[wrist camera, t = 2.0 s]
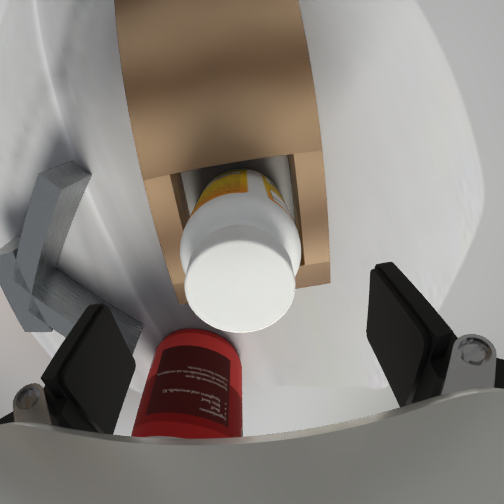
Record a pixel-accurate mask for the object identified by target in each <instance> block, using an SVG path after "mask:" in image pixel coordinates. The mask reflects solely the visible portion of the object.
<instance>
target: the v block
mask: <svg viewBox="0 0 504 504" xmlns="http://www.w3.org/2000/svg"><path fill="white" fill-rule="evenodd" d="M91 176H92V174H90V173H89V172H87V171H86V170H84V169H83V168H81V167H80V166H78V165H77V164H75V163H74V162H72V161H70V162H67V163H64V164H62V165H59V166H56V167H54V168H51V169H49V170H46V171H44V172H41V173H39V175H38V178H37V181H36V184H35V187H34V190H33V193H32V196H31V200H30V203H29V206H28V210H27V214H26V217H25V221H24V225H23V229H22V234H21V236H19V237H16V238H14V239H13V240H12V241H10V242H9V243H8V244H6V245H5V246H4V247H2V248H1V249H0V286H1V288H2V290H3V292H4V294H5V296H6V298H7V300H8V302H9V304H10V306H11V308H12V310H13V311H14V313H15V315H16V317H17V319H18V320H19V322H20V324H21V326H22V327H23V329H24V331H25V332H52V330H53V329H54V330H55V331H57V332H58V333H60V334H61V335H63V336H64V337H67V336H68V334H69V333H70V331H71V330H72V328H73V327H74V325H75V324H76V322H77V321H78V319H79V318H80V317H81V315H82V314H83V312H84V311H85V309H86V308H87V307H88V306H89V305H90V304H100V303H103V304H105V305H106V307H109V308H110V310H111V312H112V314H113V316H114V319H115V321H116V323H117V325H118V327H119V329H120V332H121V334H122V336H123V338H124V340H125V342H126V344H127V346H128V348H129V350H130V352H131V354H132V355H133V352H134V349H135V347H136V344H137V342H138V339H139V336H140V334H141V331H142V329H143V326H144V325H143V324H141V323H139V322H138V321H136V320H134V319H132V318H131V317H129V316H127V315H126V314H124V313H122V312H121V311H119V310H118V309H116V308H114V307H113V306H111V305H109V304H108V303H106V302H105V301H103V300H102V299H100V298H98V297H97V296H95V295H94V294H92V293H91V292H89V291H88V290H86V289H85V288H83V287H82V286H80V285H79V284H77V283H76V282H74V281H73V280H72V279H70V278H69V277H67V276H66V275H64V274H63V273H62V272H60V271H59V270H57V269H56V266H57V263H58V260H59V257H60V254H61V251H62V248H63V245H64V242H65V239H66V236H67V233H68V231H69V228H70V225H71V223H72V220H73V218H74V215H75V212H76V210H77V208H78V205H79V203H80V200H81V198H82V196H83V193H84V191H85V189H86V186H87V184H88V182H89V180H90V178H91Z"/></svg>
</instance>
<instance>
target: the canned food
mask: <svg viewBox="0 0 504 504" xmlns="http://www.w3.org/2000/svg"><path fill="white" fill-rule="evenodd" d="M131 437H144V438H165V439H213V438H234V437H243V429H242V366H241V361H240V359H239V356H238V354H237V352H236V350H235V349H234V347H233V346H232V345H231V344H230V343H229V342H228V341H227V340H226V339H224V338H222V337H221V336H219V335H217V334H215V333H212V332H210V331H206V330H202V329H183V330H178V331H175V332H173V333H171V334H169V335H168V336H167V337H165V338H164V340H163V341H162V342H161V343H160V344H159V346H158V347H157V349H156V352H155V355H154V358H153V361H152V364H151V368H150V371H149V374H148V378H147V381H146V384H145V388H144V391H143V395H142V398H141V402H140V405H139V409H138V412H137V416H136V420H135V423H134V427H133V431H132V435H131Z"/></svg>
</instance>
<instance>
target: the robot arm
mask: <svg viewBox="0 0 504 504" xmlns="http://www.w3.org/2000/svg"><path fill="white" fill-rule="evenodd" d="M366 332H367V338H368V341H369V343H370V345H371V347H372V349H373V351H374V353H375V355H376V357H377V359H378V361H379V363H380V365H381V367H382V369H383V372H384V374H385V376H386V378H387V380H388V382H389V384H390V386H391V388H392V391H393V393H394V395H395V397H396V399H397V401H398V404H399V406H400V408H397V409H393V410H390V411H386V412H383V413H379V414H375V415H371V416H367V417H363V418H358V419H354V420H350V421H346V422H341V423H337V424H332V425H327V426H322V427H316V428H311V429H305V430H298V431H292V432H284V433H277V434H268V435H259V436H248V437H234V438H213V439H165V438H144V437H130V436H120V435H113V433H114V429H115V426H116V423H117V420H118V417H119V414H120V411H121V408H122V405H123V402H124V399H125V396H126V393H127V390H128V388H129V385H130V382H131V379H132V376H133V374H134V371H135V367H136V364H135V360H134V358H133V356H132V354H131V352H130V350H129V348H128V346H127V344H126V342H125V340H124V338H123V336H122V334H121V332H120V329H119V327H118V325H117V323H116V321H115V319H114V316H113V314H112V312H111V310H110V308H109V307H106V305H105V304H103V303H100V304H90V305H89V306H88V307H87V308H86V309H85V311H84V312H83V314H82V315H81V317H80V318H79V319H78V321H77V322H76V324H75V325H74V327H73V328H72V330H71V331H70V333H69V334H68V336H67V337H66V339H65V340H64V342H63V343H62V345H61V346H60V348H59V349H58V351H57V352H56V354H55V356H54V357H53V359H52V360H51V362H50V364H49V365H48V367H47V368H46V370H45V372H44V373H43V375H42V377H41V379H42V381H43V382H44V384H45V387H44V389H43V387H42V386H41V385H40V384H36V383H33V384H29V385H26V386H24V387H23V388H22V389H20V390H19V392H18V393H17V394H16V395H15V398H14V400H13V412H11V413H10V414H8V415H6V416H5V417H3V418H1V419H0V504H504V360H503V359H499V358H496V349H495V348H494V345H493V344H492V343H491V342H490V341H489V340H487V339H486V338H485V337H483V336H480V335H476V334H467V335H463V336H461V337H459V338H457V337H456V335H455V334H454V333H453V331H452V330H451V328H450V327H449V326H448V325H447V324H446V323H445V321H444V320H443V319H442V318H441V316H440V315H439V314H438V313H437V312H436V310H435V309H434V308H433V307H432V306H431V304H430V303H429V302H428V301H427V300H426V299H425V298H424V296H423V295H422V294H421V293H420V292H419V291H418V290H417V288H416V287H415V286H414V285H413V284H412V283H411V282H410V281H409V280H408V278H407V277H406V276H405V275H404V274H403V273H402V272H401V271H400V270H399V269H398V268H397V266H396V265H395V264H394V263H393V262H387V263H381V264H376V266H375V269H372V270H371V272H370V290H369V305H368V318H367V330H366Z"/></svg>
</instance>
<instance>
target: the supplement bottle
mask: <svg viewBox="0 0 504 504" xmlns="http://www.w3.org/2000/svg"><path fill="white" fill-rule="evenodd" d="M180 259H181V263H182V267H183V270H184V273H185V281H184V289H185V295H186V298H187V301H188V303H189V305H190V307H191V308H192V310H193V311H194V312H195V314H196V315H197V316H198V317H199V318H200V319H202V320H203V321H204V322H206V323H207V324H209V325H211V326H213V327H215V328H217V329H220V330H223V331H227V332H234V333H246V332H253V331H257V330H261V329H264V328H266V327H268V326H270V325H272V324H273V323H275V322H276V321H277V320H279V319H280V318H281V317H282V316H283V315H284V314H285V313H286V312H287V310H288V309H289V307H290V305H291V303H292V301H293V298H294V295H295V287H296V283H295V276H296V274H297V271H298V269H299V265H300V260H301V243H300V238H299V234H298V231H297V228H296V226H295V224H294V222H293V219H292V217H291V215H290V213H289V211H288V208H287V206H286V204H285V202H284V200H283V198H282V195H281V193H280V192H279V190H278V188H277V187H276V186H275V184H274V183H273V182H272V181H271V180H270V179H269V178H268V177H266V176H265V175H263V174H261V173H259V172H257V171H254V170H250V169H233V170H229V171H226V172H223V173H221V174H219V175H218V176H216V177H215V178H214V179H212V180H211V181H210V182H209V183H208V185H207V186H206V187H205V189H204V190H203V192H202V194H201V196H200V198H199V200H198V202H197V204H196V206H195V208H194V210H193V212H192V214H191V216H190V218H189V220H188V221H187V224H186V226H185V228H184V231H183V234H182V238H181V243H180Z"/></svg>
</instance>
